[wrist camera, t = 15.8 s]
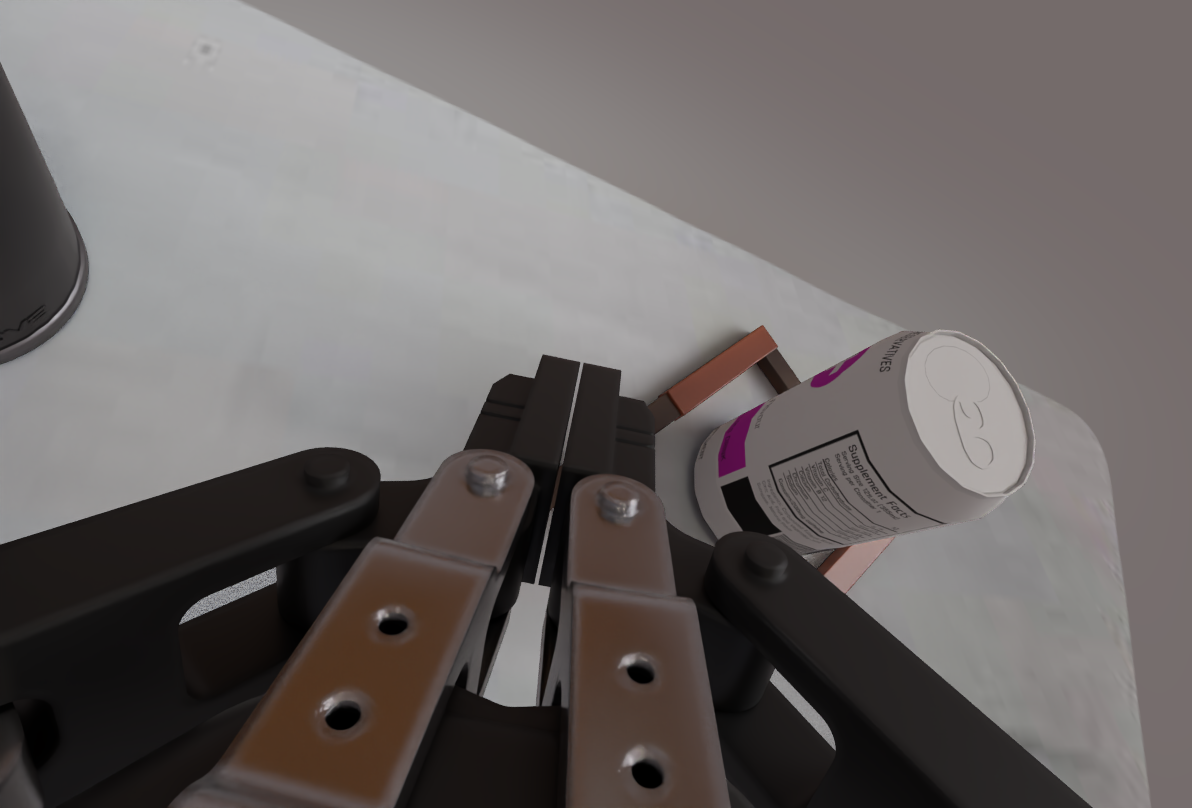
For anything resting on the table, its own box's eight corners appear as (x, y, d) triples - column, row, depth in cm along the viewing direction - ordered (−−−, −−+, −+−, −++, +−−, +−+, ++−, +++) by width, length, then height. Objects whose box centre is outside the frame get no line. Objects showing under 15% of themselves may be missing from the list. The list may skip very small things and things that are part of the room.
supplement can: (676, 424, 40) (870, 309, 27) (790, 424, 43) (1010, 322, 30) (699, 568, 37) (925, 518, 24) (818, 557, 41) (1071, 507, 28)
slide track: (361, 600, 30) (364, 598, 29) (751, 332, 44) (763, 324, 43) (559, 900, 29) (569, 908, 28) (890, 529, 44) (905, 526, 43)
